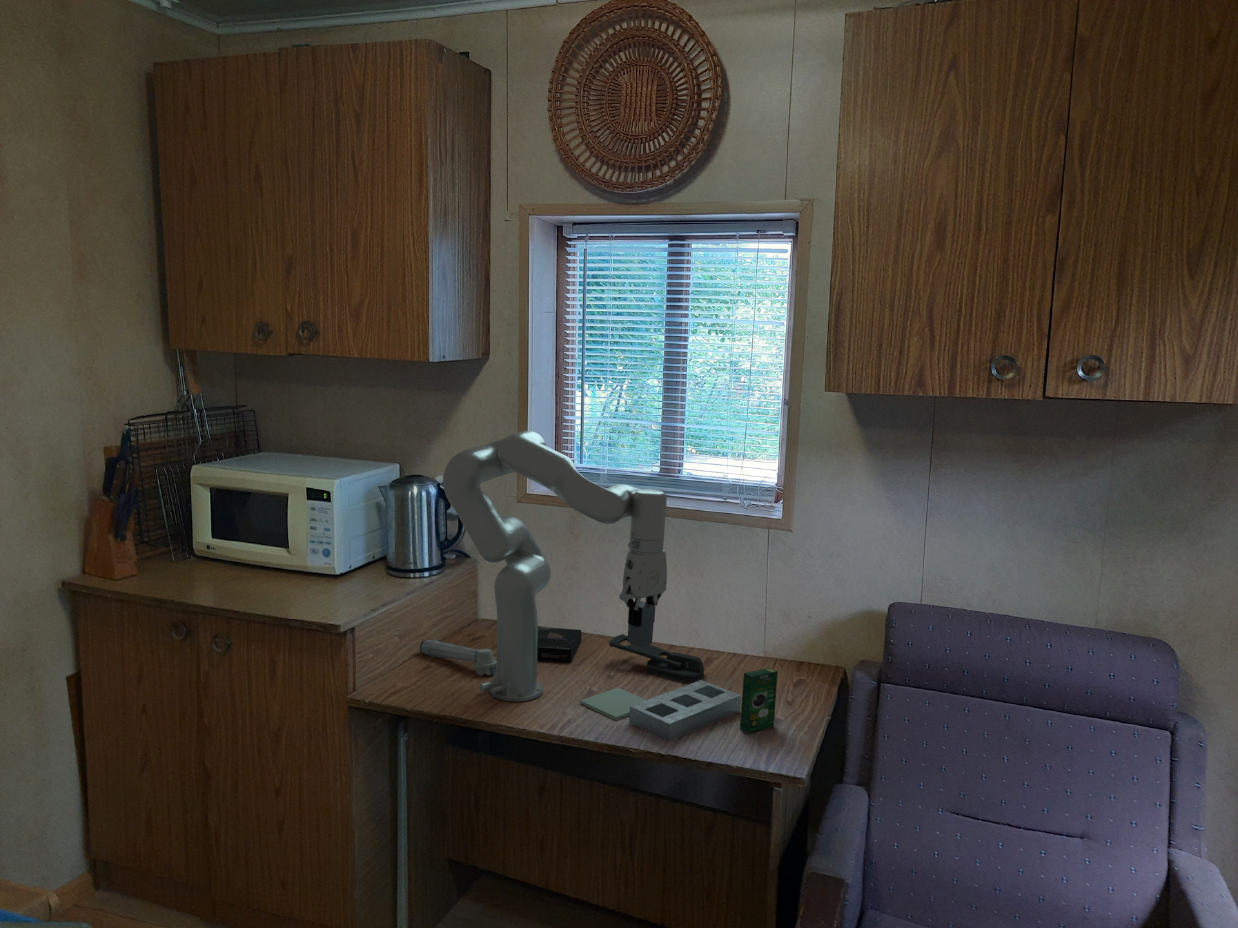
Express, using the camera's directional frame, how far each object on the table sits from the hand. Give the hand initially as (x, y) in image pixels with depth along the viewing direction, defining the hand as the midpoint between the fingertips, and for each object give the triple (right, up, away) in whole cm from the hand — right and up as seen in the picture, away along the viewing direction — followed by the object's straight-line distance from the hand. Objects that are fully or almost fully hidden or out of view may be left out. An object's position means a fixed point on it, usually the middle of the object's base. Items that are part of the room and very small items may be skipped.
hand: (641, 622), depth 206 cm
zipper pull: (+5, -17, +28) cm, 33 cm away
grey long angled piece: (-46, -16, +28) cm, 56 cm away
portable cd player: (-25, -15, +40) cm, 49 cm away
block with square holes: (+10, -21, -1) cm, 23 cm away
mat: (-5, -20, +5) cm, 21 cm away
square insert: (0, -5, +1) cm, 5 cm away
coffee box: (+25, -23, -5) cm, 34 cm away
